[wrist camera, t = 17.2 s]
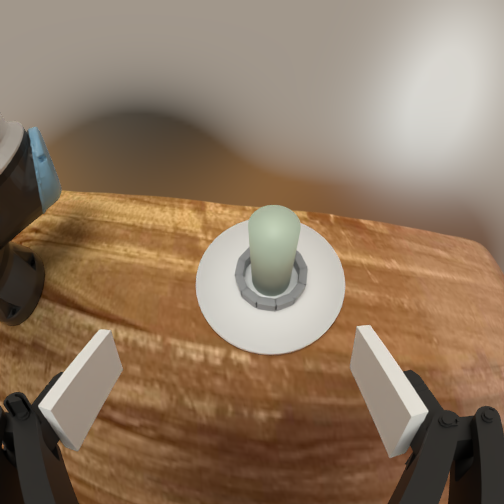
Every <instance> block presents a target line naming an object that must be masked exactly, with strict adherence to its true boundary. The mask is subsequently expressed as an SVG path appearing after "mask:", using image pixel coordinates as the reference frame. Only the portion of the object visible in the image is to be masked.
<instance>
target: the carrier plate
mask: <svg viewBox="0 0 504 504" xmlns="http://www.w3.org/2000/svg"><path fill="white" fill-rule="evenodd" d="M248 222H249V220H246V221H244V222H241V223H238V224H236V225H234V226H232V227H230V228H229V229H227V230H226V231H224V232H223V233H221V234H220V235H219V236H218V237H217V238H216V239H215V240H214V241H213V242H212V243H211V244H210V245H209V247H208V248H207V250H206V251H205V253H204V255H203V257H202V259H201V261H200V264H199V267H198V271H197V276H196V294H197V298H198V303H199V306H200V308H201V311H202V313H203V315H204V316H205V318H206V320H207V322H208V323H209V324H210V326H211V327H212V328H213V330H214V331H215V332H216V333H217V334H218V335H219V336H220V337H221V338H223V339H224V340H225V341H227V342H228V343H230V344H231V345H233V346H235V347H237V348H239V349H242V350H244V351H247V352H250V353H255V354H260V355H281V354H287V353H291V352H294V351H297V350H300V349H302V348H304V347H306V346H308V345H310V344H312V343H313V342H315V341H316V340H317V339H319V338H320V337H321V336H322V335H323V334H324V333H325V332H326V331H327V330H328V329H329V327H330V326H331V325H332V324H333V322H334V321H335V319H336V317H337V316H338V314H339V311H340V309H341V307H342V303H343V299H344V293H345V278H344V272H343V268H342V265H341V262H340V260H339V258H338V256H337V254H336V252H335V251H334V249H333V248H332V246H331V245H330V244H329V243H328V242H327V241H326V240H325V239H324V238H323V237H322V236H321V235H320V234H319V233H317V232H316V231H314V230H313V229H311V228H310V227H308V226H306V225H304V224H301V223H300V225H301V230H300V235H299V240H298V245H297V250H296V255H295V260H294V265H293V269H292V274H291V279H290V283H289V286H288V288H287V289H286V290H285V291H284V292H283V293H282V294H280V295H277V296H265V295H262V294H261V293H259V292H258V291H257V290H256V289H255V288H254V286H253V283H252V273H251V259H250V246H249V232H248Z"/></svg>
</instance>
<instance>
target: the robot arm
mask: <svg viewBox="0 0 504 504" xmlns="http://www.w3.org/2000/svg"><path fill="white" fill-rule="evenodd" d="M60 194H61V185H60V182H59V179H58V176H57V173H56V170H55V168H54V165H53V163H52V160H51V158H50V155H49V152H48V150H47V147H46V145H45V142H44V140H43V137H42V135H41V133H40V131H39V130H38V128H37V127H33V128H31V129H28V131H27V132H26V131H25V129H24V128H23V126H22V125H21V124H20V122H17V121H10V122H6V121H5V119H4V118H3V116H2V115H1V113H0V321H1V322H3V323H5V324H7V325H10V326H14V325H18V324H20V323H22V322H23V321H24V320H26V319H27V318H28V317H29V315H30V314H31V313H32V311H33V310H34V308H35V307H36V305H37V303H38V301H39V298H40V296H41V292H42V289H43V284H44V266H43V262H42V260H41V258H40V257H39V256H38V255H37V254H36V253H35V252H34V251H33V250H31V249H30V248H28V247H25V246H22V245H20V244H17V243H14V242H11V240H12V239H13V238H14V237H15V236H16V235H18V234H19V233H20V232H21V231H22V230H23V229H25V228H26V227H27V226H28V225H29V224H31V223H32V222H33V221H34V220H36V219H37V218H38V217H39V216H41V215H42V214H44V213H45V212H46V210H47V209H48V208H49V207H50V206H51V205H53V204H54V203H55V202H56V201H57V200H58V199H59V197H60ZM350 369H351V371H352V374H353V376H354V378H355V380H356V382H357V384H358V387H359V389H360V391H361V393H362V395H363V398H364V400H365V402H366V404H367V407H368V409H369V411H370V413H371V416H372V418H373V420H374V422H375V425H376V427H377V429H378V432H379V434H380V436H381V439H382V441H383V443H384V446H385V448H386V451H387V453H388V455H389V458H391V457H394V456H397V455H401V454H404V453H406V451H407V449H408V448H409V446H411V448H412V450H413V453H412V454H411V456H410V457H409V459H408V460H407V462H406V463H405V464H406V468H405V470H404V472H403V474H402V476H401V479H400V481H399V483H398V485H397V487H396V489H395V491H394V493H393V495H392V497H391V499H390V500H389V502H388V504H439V501H440V498H441V496H442V493H443V490H444V487H445V484H446V481H447V478H448V474H449V471H450V485H449V499H448V504H504V433H503V428H502V424H501V419H500V415H499V413H498V411H497V410H495V409H494V408H492V407H489V406H484V407H481V408H479V409H478V410H477V412H476V414H475V415H474V416H467V417H459V416H458V415H457V414H456V413H454V412H452V411H449V410H443V408H442V407H441V406H440V404H439V403H438V401H437V400H436V398H435V397H434V395H433V394H432V393H431V391H430V390H428V387H427V386H426V384H424V381H423V380H422V379H421V377H420V376H419V375H418V374H416V373H415V372H413V371H412V370H408V371H404V372H402V370H401V369H400V367H399V366H398V364H397V363H396V361H395V360H394V358H393V357H392V355H391V354H390V353H389V351H388V350H387V348H386V347H385V345H384V344H383V343H382V341H381V340H380V338H379V337H378V336H377V334H376V333H375V331H374V330H373V329H372V327H371V326H370V325H365V326H357V328H356V334H355V340H354V346H353V352H352V357H351V363H350ZM122 370H123V368H122V365H121V362H120V359H119V355H118V352H117V349H116V346H115V342H114V339H113V336H112V332H111V330H102V329H100V330H99V331H98V332H97V333H96V334H95V335H94V337H93V338H92V339H91V340H90V341H89V343H88V344H87V345H86V346H85V347H84V348H83V350H82V351H81V352H80V353H79V354H78V356H77V357H76V358H75V359H74V361H73V362H72V363H71V364H70V365H69V367H68V368H67V369H66V370H65V372H60V373H59V374H57V375H56V376H54V377H53V378H52V380H51V381H50V382H49V384H48V385H47V386H46V387H45V390H43V391H42V392H41V393H40V395H39V396H38V397H37V398H36V400H35V401H34V402H33V404H32V405H31V404H30V402H29V401H28V399H27V397H26V396H25V395H24V394H23V393H21V392H15V393H12V394H10V395H9V396H7V397H6V399H5V400H4V406H5V407H6V409H7V410H8V412H9V413H7V412H4V410H3V409H2V407H1V406H0V504H79V503H78V500H77V498H76V495H75V493H74V490H73V488H72V485H71V482H70V479H69V476H68V473H67V470H66V467H65V464H64V461H63V458H62V454H61V451H60V448H59V446H58V445H57V443H58V441H59V440H61V442H62V443H63V445H64V446H65V447H67V448H69V449H72V450H75V451H79V449H80V447H81V445H82V443H83V441H84V439H85V437H86V435H87V433H88V431H89V430H90V428H91V426H92V424H93V422H94V420H95V418H96V416H97V415H98V413H99V411H100V409H101V407H102V406H103V404H104V402H105V400H106V398H107V397H108V395H109V393H110V391H111V389H112V388H113V386H114V384H115V382H116V381H117V379H118V377H119V376H120V374H121V372H122ZM2 443H3V445H4V449H2Z"/></svg>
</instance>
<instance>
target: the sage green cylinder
mask: <svg viewBox="0 0 504 504" xmlns="http://www.w3.org/2000/svg"><path fill="white" fill-rule="evenodd" d="M300 230H301V225H300V221H299V219H298V217H297V215H296V214H295V213H294V212H293V211H291V210H290V209H288V208H286V207H283V206H279V205H268V206H264V207H261V208H259V209H258V210H256V211H255V212H254V213H253V214H252V215H251V217H250V219H249V222H248V232H249V246H250V259H251V273H252V283H253V286H254V288H255V289H256V290H257V291H258V292H259V293H261V294H262V295H265V296H277V295H280V294H282V293H283V292H284V291H285V290H286V289H287V288H288V286H289V283H290V279H291V274H292V269H293V265H294V260H295V255H296V250H297V245H298V240H299V235H300Z"/></svg>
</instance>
